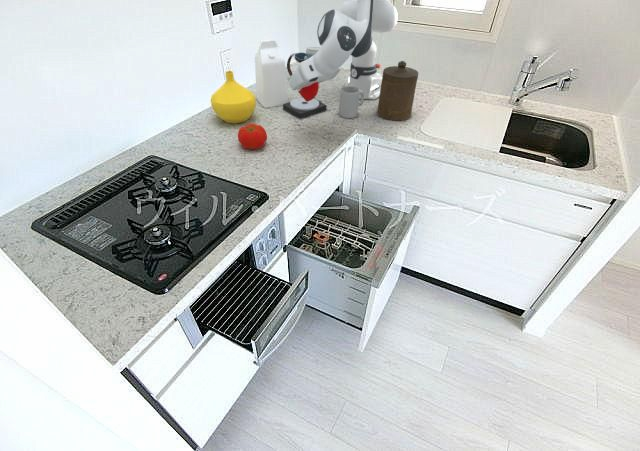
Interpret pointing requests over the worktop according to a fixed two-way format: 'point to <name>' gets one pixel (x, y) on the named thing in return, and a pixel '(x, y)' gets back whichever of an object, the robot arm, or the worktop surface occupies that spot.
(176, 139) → the worktop surface
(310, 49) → the disposable coffee cup
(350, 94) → the mug
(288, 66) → the headphones
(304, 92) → the heart
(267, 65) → the milk
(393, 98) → the wooden container
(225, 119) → the vase
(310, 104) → the scale
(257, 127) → the tomato
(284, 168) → the worktop surface
